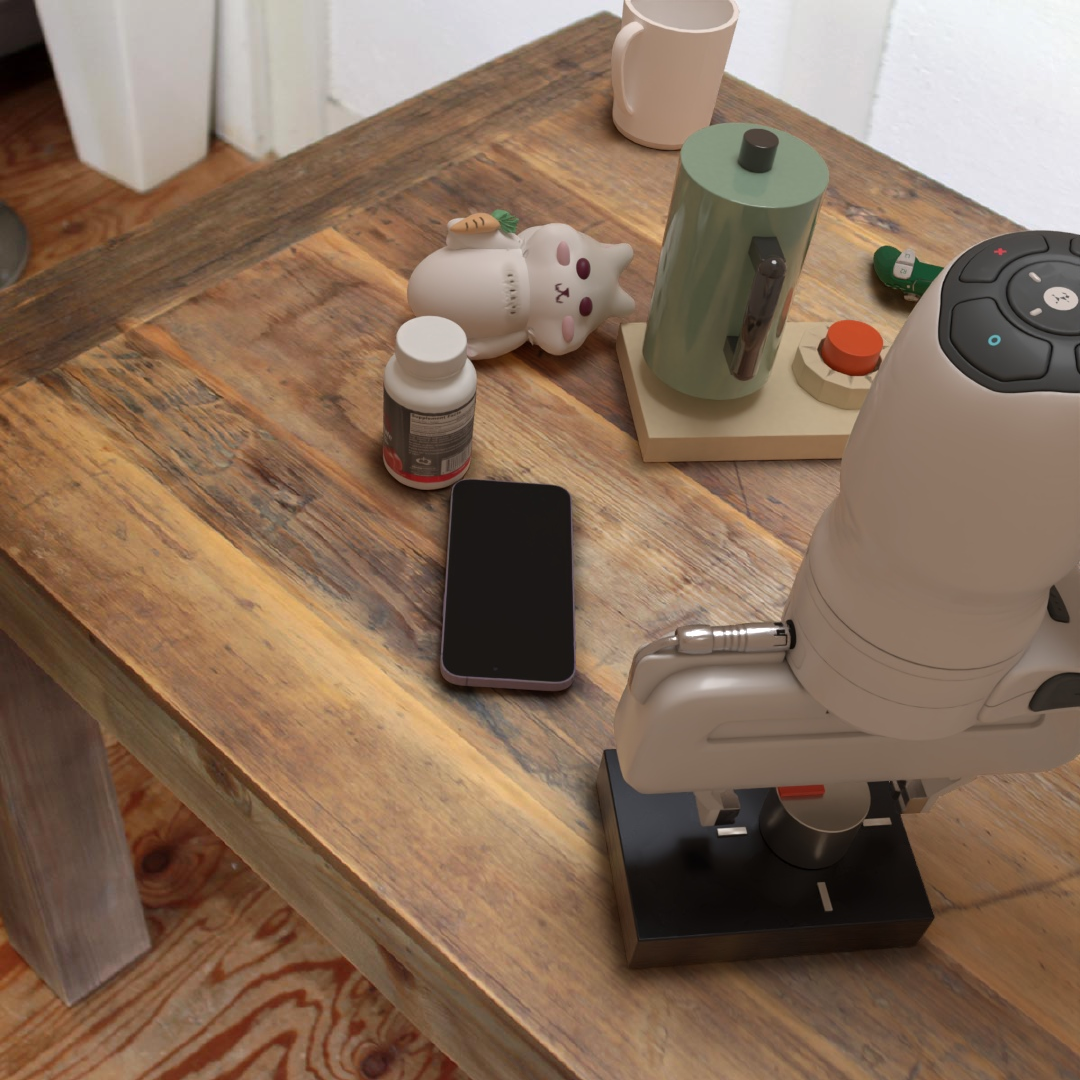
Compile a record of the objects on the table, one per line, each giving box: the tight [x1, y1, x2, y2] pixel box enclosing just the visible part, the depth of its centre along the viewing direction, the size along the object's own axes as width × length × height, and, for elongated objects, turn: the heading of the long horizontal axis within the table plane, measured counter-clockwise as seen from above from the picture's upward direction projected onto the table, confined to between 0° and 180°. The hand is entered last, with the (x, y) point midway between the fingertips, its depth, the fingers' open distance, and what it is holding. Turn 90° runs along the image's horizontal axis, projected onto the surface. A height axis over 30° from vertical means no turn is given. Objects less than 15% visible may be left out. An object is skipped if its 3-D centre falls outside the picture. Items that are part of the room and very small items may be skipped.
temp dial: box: [759, 782, 871, 869], centre depth 62 cm, size 4×4×4 cm
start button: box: [821, 319, 883, 376], centre depth 86 cm, size 4×4×2 cm
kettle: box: [642, 122, 830, 400], centre depth 79 cm, size 8×14×16 cm, turn 7°
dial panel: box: [595, 748, 936, 970], centre depth 64 cm, size 14×10×3 cm
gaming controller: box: [872, 244, 946, 302], centre depth 97 cm, size 9×4×6 cm
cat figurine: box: [406, 209, 637, 361], centre depth 88 cm, size 10×8×15 cm
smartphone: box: [439, 478, 577, 692], centre depth 75 cm, size 7×1×15 cm
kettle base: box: [615, 321, 892, 463], centre depth 87 cm, size 17×11×4 cm, turn 97°
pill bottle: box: [382, 316, 478, 491], centre depth 78 cm, size 5×5×10 cm
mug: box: [610, 0, 741, 151], centre depth 106 cm, size 11×9×10 cm
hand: (811, 806), depth 62 cm, fingers open, 8 cm apart
